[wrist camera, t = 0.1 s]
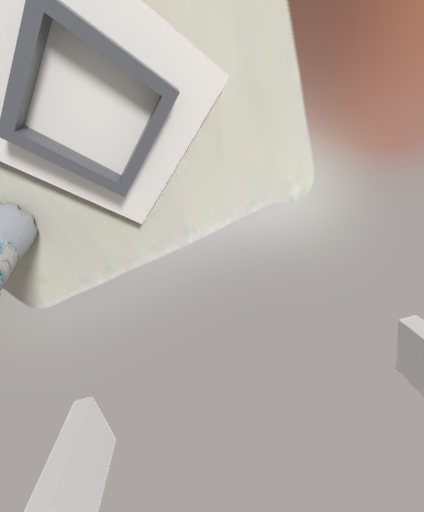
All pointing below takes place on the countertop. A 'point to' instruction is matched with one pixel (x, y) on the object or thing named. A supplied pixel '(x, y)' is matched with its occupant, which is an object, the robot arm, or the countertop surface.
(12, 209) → the bottle
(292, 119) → the countertop surface
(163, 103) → the dock
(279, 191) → the countertop surface
